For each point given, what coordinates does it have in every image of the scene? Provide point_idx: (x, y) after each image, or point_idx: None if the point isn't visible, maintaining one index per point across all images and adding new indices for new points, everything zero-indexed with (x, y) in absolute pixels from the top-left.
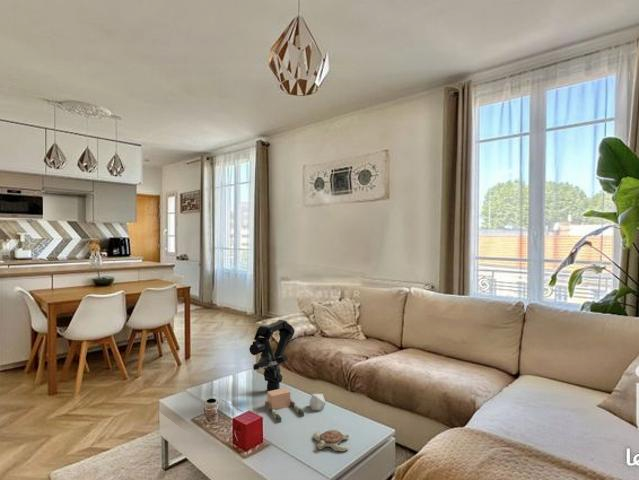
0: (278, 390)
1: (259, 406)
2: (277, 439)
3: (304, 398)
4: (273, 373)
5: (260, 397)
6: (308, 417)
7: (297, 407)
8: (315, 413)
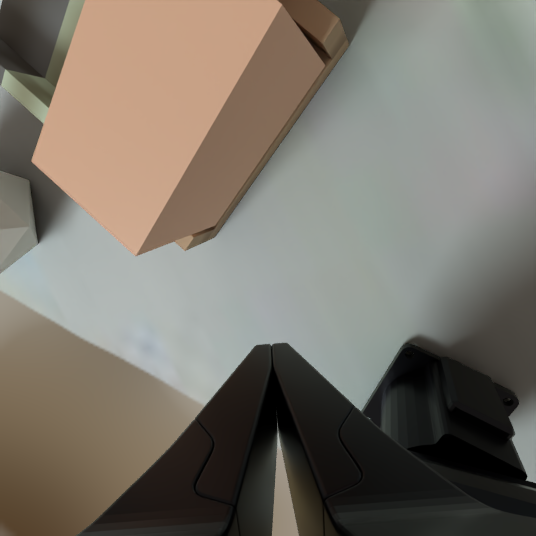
0: (158, 138)
1: (430, 62)
2: None
3: (156, 340)
4: (241, 399)
5: (517, 263)
6: (4, 92)
7: (17, 82)
8: (6, 166)
